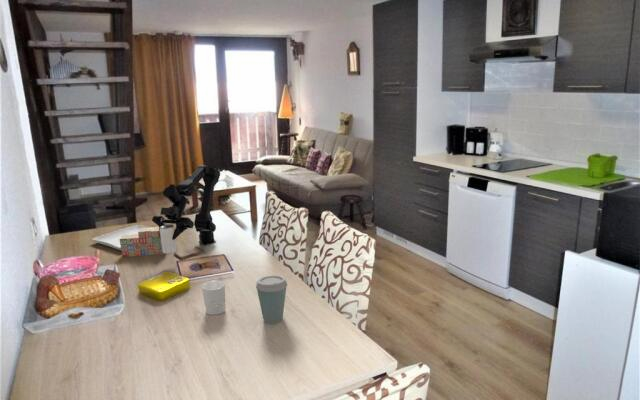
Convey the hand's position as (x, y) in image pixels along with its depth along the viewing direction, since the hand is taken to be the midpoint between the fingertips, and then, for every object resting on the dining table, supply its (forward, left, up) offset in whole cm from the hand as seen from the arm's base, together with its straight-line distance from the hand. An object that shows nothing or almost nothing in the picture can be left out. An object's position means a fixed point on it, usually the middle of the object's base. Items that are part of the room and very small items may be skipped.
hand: (166, 238), depth 202 cm
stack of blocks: (+1, -25, -14) cm, 29 cm away
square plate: (-1, -50, -14) cm, 52 cm away
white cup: (+6, +52, -13) cm, 54 cm away
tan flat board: (-14, -8, -13) cm, 21 cm away
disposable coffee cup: (-5, +72, -13) cm, 73 cm away
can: (-1, -1, -7) cm, 7 cm away
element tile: (+12, +22, -14) cm, 28 cm away
